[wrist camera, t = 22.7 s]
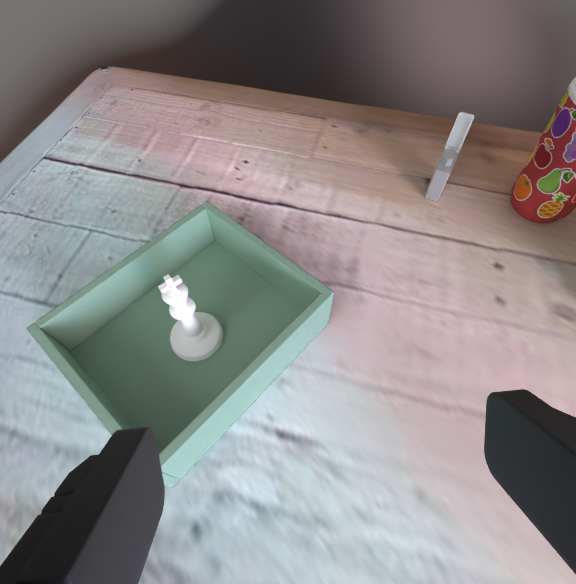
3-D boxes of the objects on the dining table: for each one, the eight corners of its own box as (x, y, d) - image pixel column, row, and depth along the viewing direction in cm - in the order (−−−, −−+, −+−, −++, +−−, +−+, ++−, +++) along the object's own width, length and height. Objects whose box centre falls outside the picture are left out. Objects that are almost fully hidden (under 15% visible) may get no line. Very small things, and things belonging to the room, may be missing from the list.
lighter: (437, 202, 45) (463, 145, 39) (423, 197, 46) (446, 140, 39) (451, 167, 49) (477, 110, 42) (438, 163, 49) (461, 106, 42)
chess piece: (161, 333, 35) (120, 272, 27) (206, 305, 37) (180, 240, 28) (187, 372, 33) (151, 320, 25) (233, 341, 35) (214, 282, 26)
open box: (216, 237, 43) (206, 200, 38) (328, 322, 37) (334, 291, 32) (62, 355, 35) (25, 328, 30) (172, 488, 29) (148, 480, 24)
